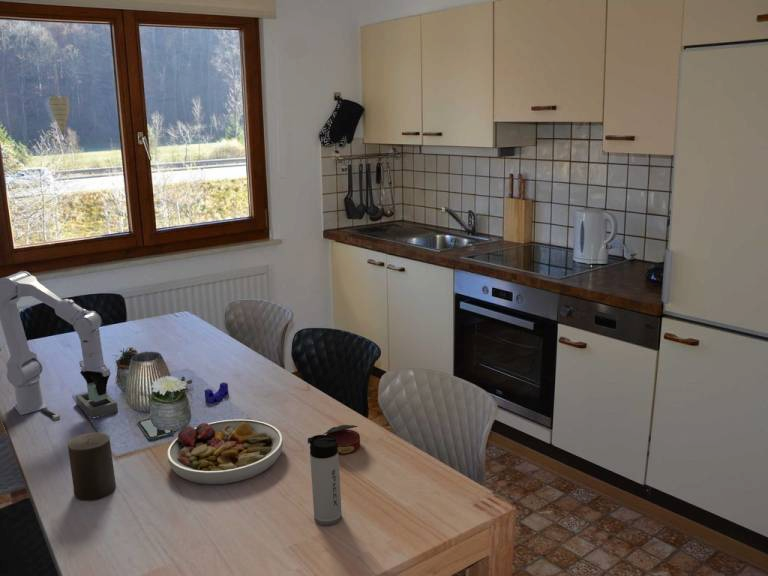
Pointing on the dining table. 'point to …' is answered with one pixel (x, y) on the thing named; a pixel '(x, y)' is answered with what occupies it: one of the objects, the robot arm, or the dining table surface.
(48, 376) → the dining table surface
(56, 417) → the cable piece
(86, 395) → the grey piece
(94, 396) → the block
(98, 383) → the robot arm
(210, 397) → the cable holder
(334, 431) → the canned food
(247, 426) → the bowl
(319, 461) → the travel mug
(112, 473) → the pillar candle
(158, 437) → the smartphone
